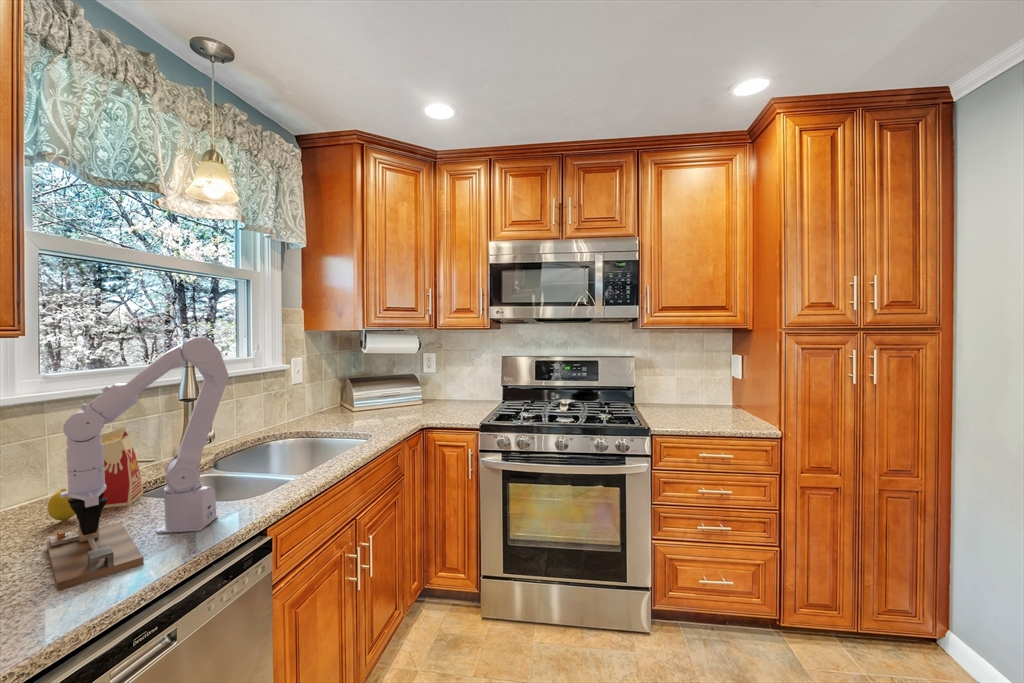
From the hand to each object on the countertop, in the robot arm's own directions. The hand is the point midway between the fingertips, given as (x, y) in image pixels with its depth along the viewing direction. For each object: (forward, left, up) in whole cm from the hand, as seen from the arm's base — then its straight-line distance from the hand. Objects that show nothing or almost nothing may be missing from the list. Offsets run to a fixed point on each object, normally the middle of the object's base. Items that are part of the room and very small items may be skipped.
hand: (88, 531), depth 97 cm
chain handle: (-1, +4, -1) cm, 5 cm away
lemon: (+16, -14, -3) cm, 22 cm away
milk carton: (+13, -26, -3) cm, 29 cm away
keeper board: (-4, +5, -3) cm, 7 cm away
